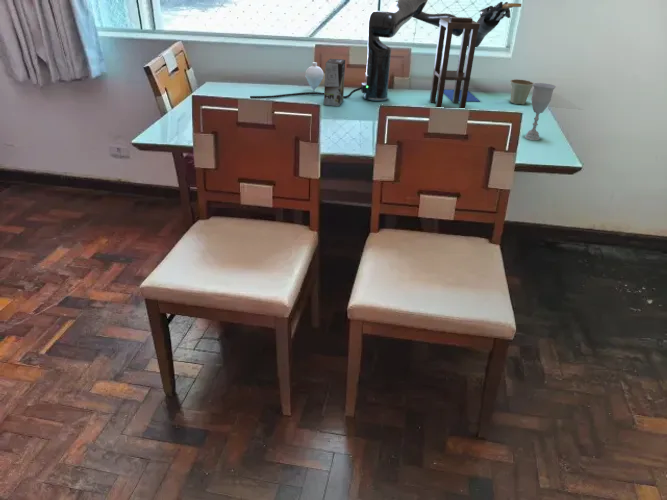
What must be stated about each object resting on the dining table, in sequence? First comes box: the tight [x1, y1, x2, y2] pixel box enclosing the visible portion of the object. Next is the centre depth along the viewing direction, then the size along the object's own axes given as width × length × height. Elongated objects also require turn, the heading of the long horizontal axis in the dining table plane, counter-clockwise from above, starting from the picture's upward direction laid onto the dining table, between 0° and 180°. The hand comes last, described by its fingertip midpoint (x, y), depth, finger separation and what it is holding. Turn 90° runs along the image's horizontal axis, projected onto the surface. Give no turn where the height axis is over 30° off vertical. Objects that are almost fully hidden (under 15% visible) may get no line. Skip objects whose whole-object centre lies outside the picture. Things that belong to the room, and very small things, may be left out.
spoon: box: [501, 2, 522, 9], centre depth 218 cm, size 18×6×5 cm, turn 5°
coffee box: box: [323, 58, 346, 107], centre depth 217 cm, size 9×6×16 cm
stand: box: [429, 16, 480, 109], centre depth 217 cm, size 12×12×33 cm
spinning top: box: [304, 61, 325, 92], centre depth 231 cm, size 8×8×12 cm
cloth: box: [443, 89, 480, 103], centre depth 240 cm, size 12×18×1 cm, turn 5°
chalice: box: [524, 82, 556, 141], centre depth 189 cm, size 7×7×18 cm
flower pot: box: [509, 78, 535, 105], centre depth 232 cm, size 9×9×9 cm
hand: (504, 4), depth 220 cm, fingers closed on spoon, 1 cm apart
